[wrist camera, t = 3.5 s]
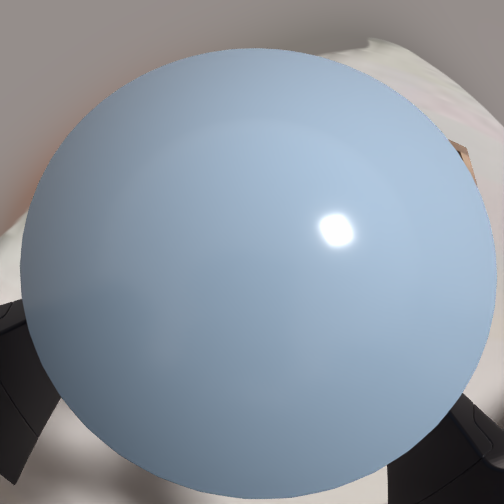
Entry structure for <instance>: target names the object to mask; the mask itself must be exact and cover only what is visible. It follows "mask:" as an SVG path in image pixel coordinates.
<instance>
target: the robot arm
mask: <svg viewBox="0 0 504 504" xmlns="http://www.w3.org/2000/svg"><path fill="white" fill-rule="evenodd" d="M60 398H61V396H60V394H59V393H58V391H57V390H56V388H55V386H54V385H53V383H52V381H51V380H50V378H49V376H48V374H47V373H46V371H45V369H44V367H43V366H42V363H41V361H40V359H39V356H38V354H37V351H36V349H35V346H34V343H33V341H32V338H31V335H30V332H29V329H28V325H27V320H26V316H25V311H24V306H23V301H22V299H20V300H17V301H14V302H10V303H7V304H3V305H0V474H1V475H2V476H3V477H5V478H6V479H7V480H8V481H10V482H11V483H12V484H14V485H15V484H16V482H17V481H18V478H19V476H20V474H21V472H22V470H23V468H24V466H25V464H26V462H27V459H28V457H29V455H30V453H31V452H32V450H33V448H34V446H35V444H36V442H37V440H38V437H39V436H40V434H41V432H42V430H43V428H44V427H45V425H46V423H47V421H48V419H49V418H50V416H51V414H52V412H53V411H54V409H55V407H56V405H57V404H58V402H59V400H60ZM387 475H388V504H504V430H503V429H501V428H500V427H499V426H498V425H497V424H496V423H494V422H493V421H492V420H491V419H490V418H489V417H488V416H487V415H486V414H484V413H483V412H482V411H481V410H480V409H479V408H478V407H477V406H476V405H475V404H473V402H472V401H471V400H470V399H469V398H468V397H466V396H465V395H464V394H463V393H462V394H461V396H460V397H459V399H458V400H457V401H456V403H455V404H454V405H453V406H452V408H451V409H450V410H449V412H448V413H447V414H446V415H445V416H444V418H443V419H442V420H441V421H440V422H439V424H438V425H437V426H436V427H435V428H434V429H433V430H432V431H431V432H429V433H428V434H427V435H426V436H425V437H424V438H423V439H422V440H421V441H419V442H418V443H417V444H416V445H415V446H414V447H413V448H411V449H410V450H409V451H408V452H406V453H405V454H403V455H402V456H400V457H399V458H397V459H395V460H394V461H392V462H391V463H389V464H387Z"/></svg>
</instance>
